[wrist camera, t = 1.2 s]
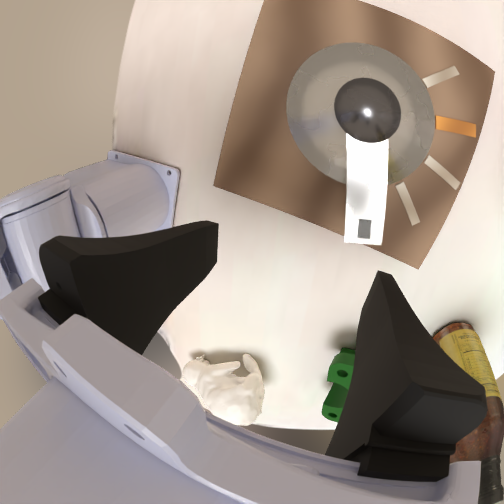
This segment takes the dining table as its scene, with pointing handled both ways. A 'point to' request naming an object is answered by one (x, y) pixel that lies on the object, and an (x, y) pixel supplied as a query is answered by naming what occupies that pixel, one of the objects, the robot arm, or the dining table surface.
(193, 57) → the dining table surface
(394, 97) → the dial
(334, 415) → the clamp
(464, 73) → the dial plate
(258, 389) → the white lumpy piece
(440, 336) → the sauce bottle
